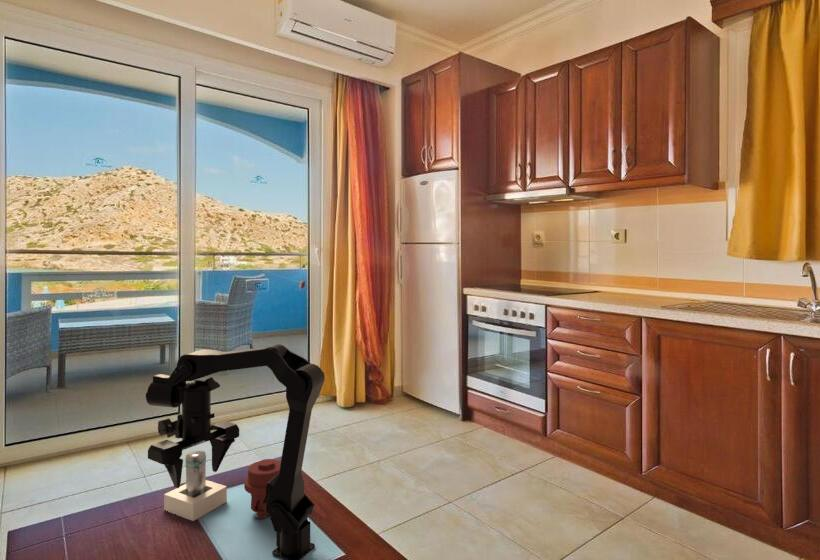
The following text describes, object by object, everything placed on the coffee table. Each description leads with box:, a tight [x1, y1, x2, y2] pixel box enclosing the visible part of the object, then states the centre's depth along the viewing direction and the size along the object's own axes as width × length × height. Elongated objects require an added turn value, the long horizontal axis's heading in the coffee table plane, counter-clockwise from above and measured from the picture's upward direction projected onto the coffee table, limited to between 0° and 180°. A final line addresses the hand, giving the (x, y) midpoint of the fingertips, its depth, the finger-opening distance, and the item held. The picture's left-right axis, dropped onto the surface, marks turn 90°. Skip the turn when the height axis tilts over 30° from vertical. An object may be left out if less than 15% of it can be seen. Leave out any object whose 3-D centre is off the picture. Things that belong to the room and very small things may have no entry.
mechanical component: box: [243, 458, 281, 520], centre depth 117 cm, size 12×10×10 cm
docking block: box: [163, 479, 228, 522], centre depth 119 cm, size 10×10×4 cm
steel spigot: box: [184, 450, 207, 498], centre depth 119 cm, size 5×5×13 cm
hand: (196, 479), depth 106 cm, fingers open, 9 cm apart
